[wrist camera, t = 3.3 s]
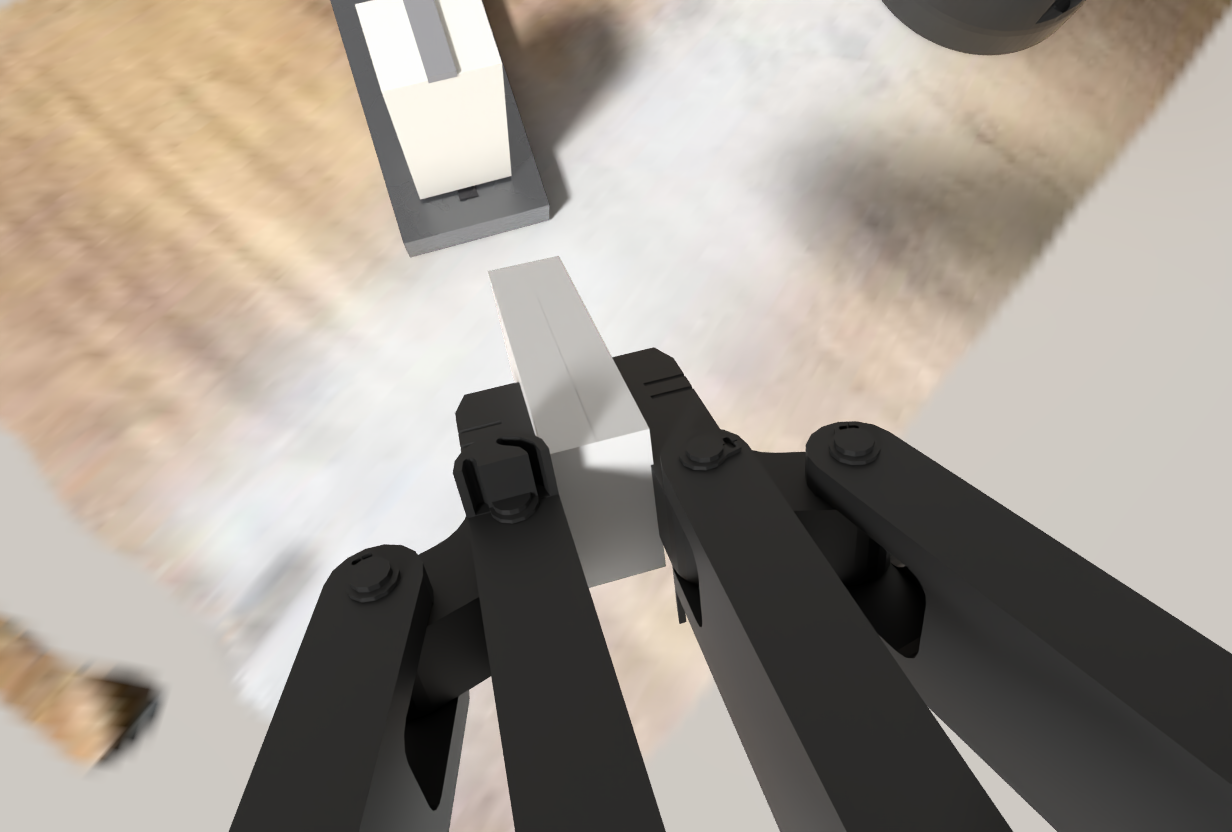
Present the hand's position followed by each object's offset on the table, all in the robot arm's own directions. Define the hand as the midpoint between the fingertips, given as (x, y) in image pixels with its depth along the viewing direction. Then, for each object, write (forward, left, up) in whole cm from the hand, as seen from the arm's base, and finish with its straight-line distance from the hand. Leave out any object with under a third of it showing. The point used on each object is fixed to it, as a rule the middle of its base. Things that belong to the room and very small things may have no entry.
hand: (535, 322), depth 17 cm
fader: (+8, -14, -23) cm, 29 cm away
